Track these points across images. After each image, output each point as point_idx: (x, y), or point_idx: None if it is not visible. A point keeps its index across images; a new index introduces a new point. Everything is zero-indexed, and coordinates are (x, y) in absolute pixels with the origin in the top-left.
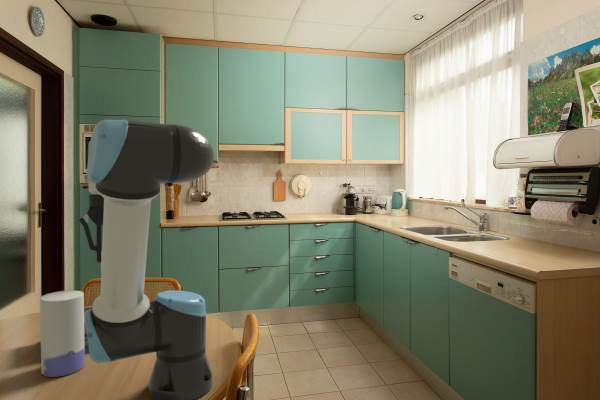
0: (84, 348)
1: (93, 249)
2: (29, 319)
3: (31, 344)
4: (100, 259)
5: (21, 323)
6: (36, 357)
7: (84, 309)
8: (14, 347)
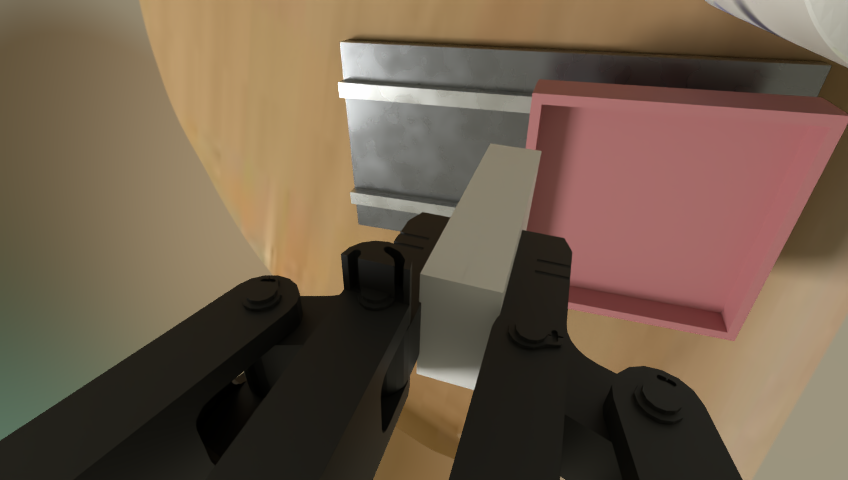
0: (638, 68)
1: (633, 367)
2: None
3: None
4: (527, 250)
5: None
6: None
7: (576, 298)
8: (830, 279)
